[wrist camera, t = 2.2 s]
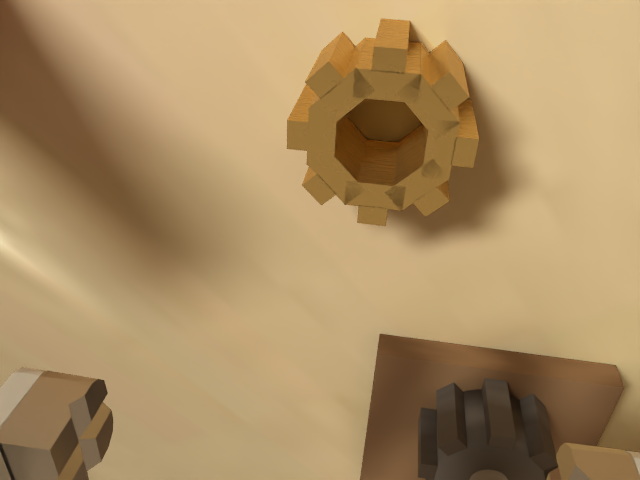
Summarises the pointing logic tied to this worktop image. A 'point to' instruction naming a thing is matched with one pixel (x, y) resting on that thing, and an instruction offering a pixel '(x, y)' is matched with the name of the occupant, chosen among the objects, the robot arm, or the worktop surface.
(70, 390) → the robot arm
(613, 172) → the worktop surface
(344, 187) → the brass gear
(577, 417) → the gear board
